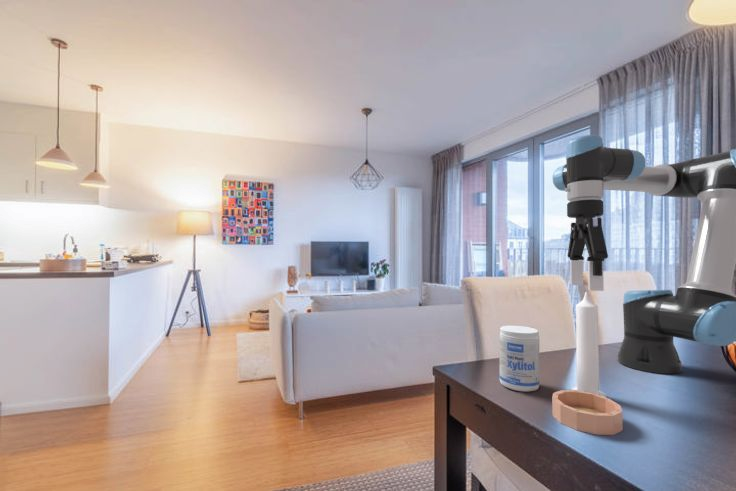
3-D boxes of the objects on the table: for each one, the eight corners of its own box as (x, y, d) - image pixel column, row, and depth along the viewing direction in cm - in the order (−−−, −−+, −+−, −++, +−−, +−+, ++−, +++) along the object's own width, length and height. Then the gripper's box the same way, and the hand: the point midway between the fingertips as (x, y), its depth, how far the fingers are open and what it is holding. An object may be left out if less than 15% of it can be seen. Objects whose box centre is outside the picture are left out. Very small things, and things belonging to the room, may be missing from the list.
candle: (611, 402, 78) (609, 293, 79) (577, 400, 80) (576, 293, 80) (597, 390, 85) (596, 290, 86) (566, 388, 87) (565, 290, 87)
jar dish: (596, 406, 77) (595, 390, 77) (637, 434, 65) (637, 415, 65) (542, 406, 77) (541, 390, 77) (573, 434, 65) (573, 415, 65)
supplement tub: (508, 393, 84) (507, 333, 84) (494, 378, 94) (493, 325, 94) (547, 393, 84) (546, 333, 84) (529, 378, 93) (528, 325, 94)
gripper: (554, 207, 97) (555, 282, 96) (584, 192, 73) (585, 292, 72) (584, 206, 95) (585, 283, 94) (625, 191, 71) (627, 293, 70)
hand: (585, 287), depth 83 cm, fingers open, 13 cm apart
